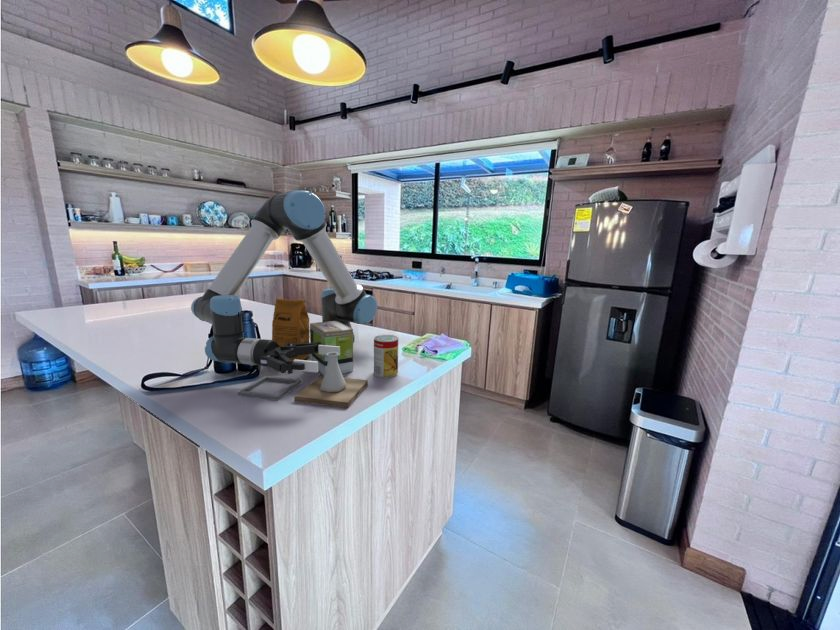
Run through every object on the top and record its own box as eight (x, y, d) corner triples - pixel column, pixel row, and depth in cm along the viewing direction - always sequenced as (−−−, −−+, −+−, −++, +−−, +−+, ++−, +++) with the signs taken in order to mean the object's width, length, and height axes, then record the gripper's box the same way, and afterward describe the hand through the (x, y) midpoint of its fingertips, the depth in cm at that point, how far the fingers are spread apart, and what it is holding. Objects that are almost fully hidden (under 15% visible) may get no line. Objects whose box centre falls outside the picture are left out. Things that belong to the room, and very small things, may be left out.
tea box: (354, 371, 109) (353, 328, 106) (324, 377, 104) (323, 332, 101) (337, 358, 121) (336, 319, 118) (310, 363, 116) (308, 322, 113)
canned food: (402, 372, 110) (403, 337, 107) (387, 379, 103) (388, 342, 101) (384, 367, 114) (384, 333, 112) (368, 373, 108) (368, 338, 105)
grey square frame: (266, 378, 101) (265, 375, 101) (301, 382, 99) (301, 379, 99) (238, 395, 90) (237, 392, 90) (277, 400, 88) (277, 396, 87)
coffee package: (284, 352, 126) (281, 295, 122) (314, 355, 124) (312, 297, 119) (267, 361, 117) (263, 299, 112) (299, 364, 114) (296, 301, 110)
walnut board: (321, 379, 102) (321, 375, 101) (367, 384, 99) (367, 380, 99) (294, 401, 87) (294, 396, 87) (347, 407, 85) (347, 402, 84)
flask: (315, 391, 90) (314, 356, 88) (326, 381, 97) (325, 348, 95) (340, 394, 89) (340, 358, 87) (350, 383, 96) (349, 350, 94)
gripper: (285, 351, 108) (347, 357, 104) (229, 381, 83) (306, 389, 80) (284, 329, 106) (346, 334, 102) (226, 352, 82) (305, 360, 78)
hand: (329, 358), depth 91 cm, fingers open, 13 cm apart
